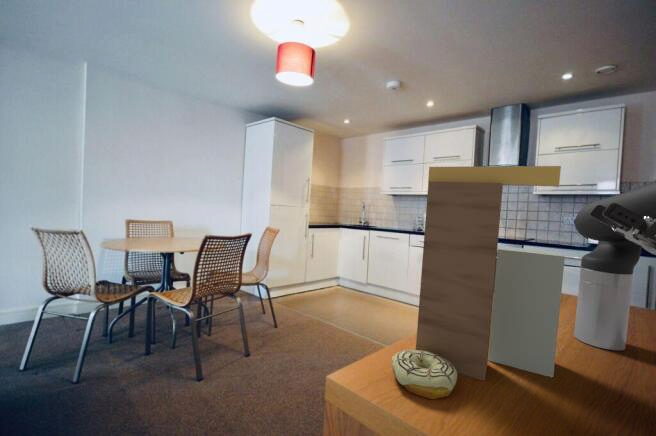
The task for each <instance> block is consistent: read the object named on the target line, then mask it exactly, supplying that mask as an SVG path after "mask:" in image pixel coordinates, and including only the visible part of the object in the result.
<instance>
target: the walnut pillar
mask: <svg viewBox="0 0 656 436" xmlns="http://www.w3.org/2000/svg"><path fill="white" fill-rule="evenodd" d="M427 185H428V186H427V196H426V206H425V207H426V211H425V221H424V235H423V249H422V251H423V252H422V263H421V275H420V287H419V299H418V300H419V301H418V312H417V313H418V315H417V330H416V339H415V340H416V342H415V350H419V351H428V352H431V353H434V354H437V355H439V356H441V357H443V358H445V359H446V360H448V361H449V362H450V363H451V364H452V365H453V366H454V367H455V369H456V371H457V374H460V375H464V376H466V377H469V378H472V379H476V380H480V381H482V382H483V381H484V382H485V381H486V376H487V368H488V355H489V343H490V332H491V320H492V308H493V297H494V285H495V274H496V262H497V250H498V247H499V245H498V244H499V235H500V221H501V213H502V211H501V209H502V200H503V188H504V187H503V186H504V185H502V183H488V182H430V181H427Z"/></svg>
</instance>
